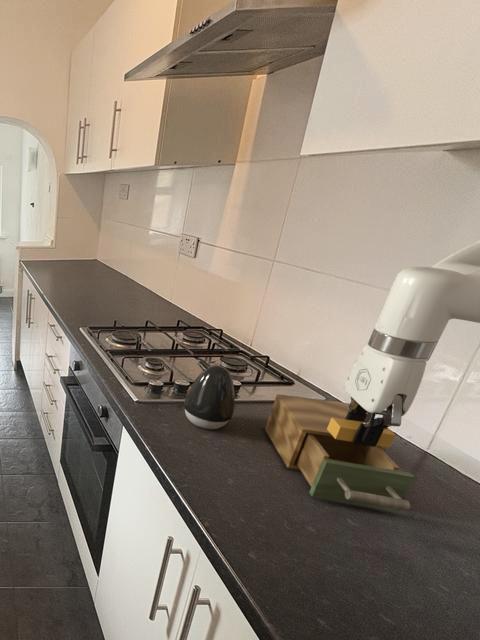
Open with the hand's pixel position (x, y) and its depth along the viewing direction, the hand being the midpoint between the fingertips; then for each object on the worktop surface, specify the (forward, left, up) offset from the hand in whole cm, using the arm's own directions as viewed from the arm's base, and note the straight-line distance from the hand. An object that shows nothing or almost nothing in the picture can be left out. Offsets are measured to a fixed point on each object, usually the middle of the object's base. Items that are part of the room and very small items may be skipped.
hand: (357, 437), depth 75 cm
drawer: (0, +1, -11) cm, 11 cm away
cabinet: (0, -11, -12) cm, 16 cm away
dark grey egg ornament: (+20, -17, -12) cm, 29 cm away
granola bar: (0, 0, 0) cm, 0 cm away
